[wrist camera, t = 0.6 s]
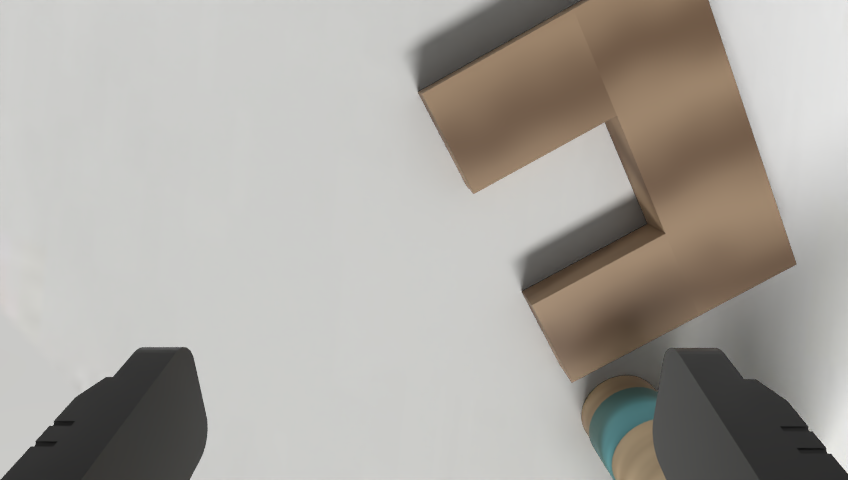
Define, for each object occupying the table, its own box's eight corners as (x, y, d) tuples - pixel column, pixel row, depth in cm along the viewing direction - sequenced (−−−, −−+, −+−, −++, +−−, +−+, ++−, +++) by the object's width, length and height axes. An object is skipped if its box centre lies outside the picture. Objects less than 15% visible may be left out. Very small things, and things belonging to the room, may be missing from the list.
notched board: (417, 92, 29) (422, 93, 27) (667, -48, 28) (689, -57, 26) (560, 365, 34) (571, 382, 32) (771, 253, 34) (796, 264, 32)
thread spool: (566, 399, 35) (624, 491, 28) (642, 359, 35) (721, 441, 27) (598, 460, 37) (661, 562, 29) (671, 422, 37) (754, 516, 29)
